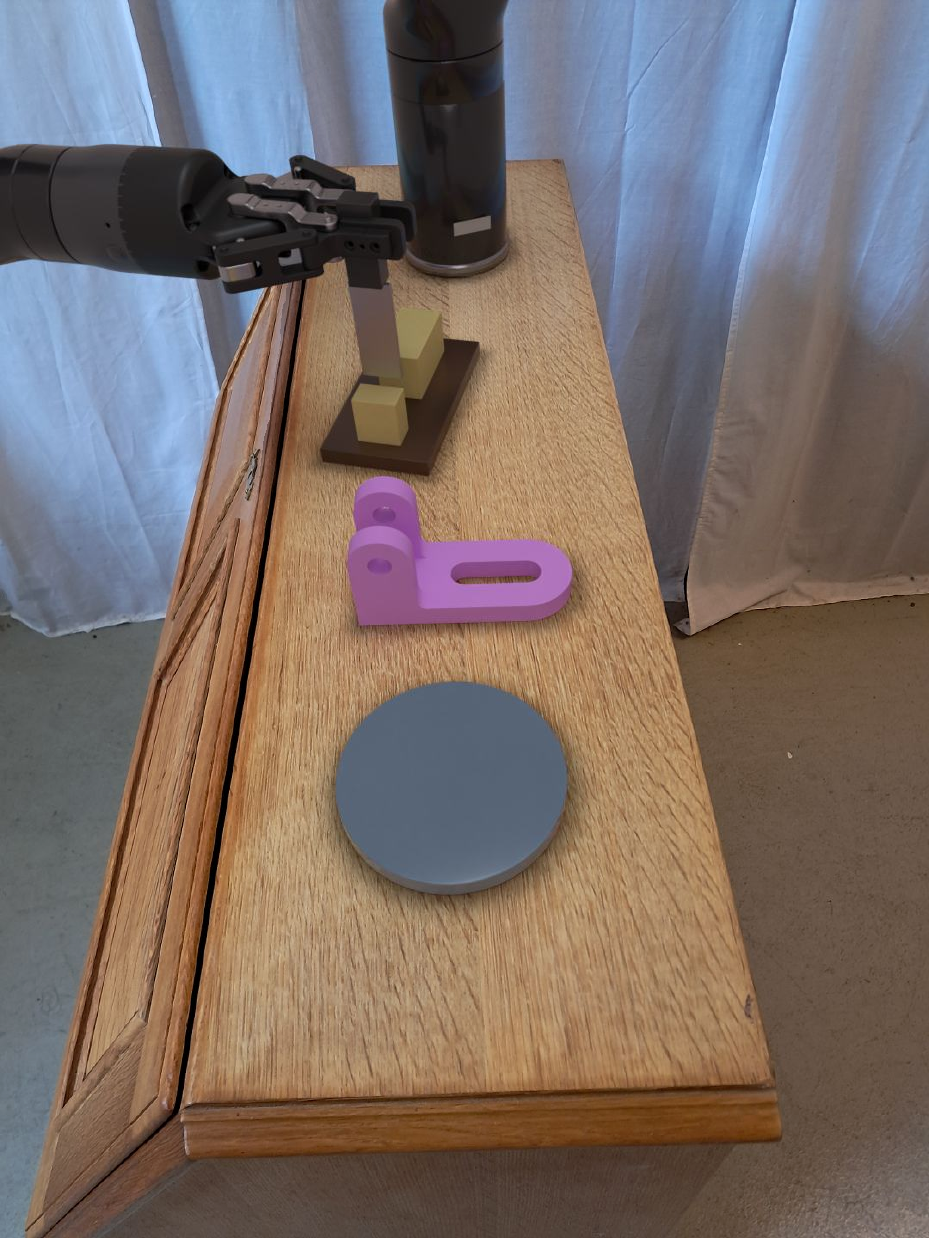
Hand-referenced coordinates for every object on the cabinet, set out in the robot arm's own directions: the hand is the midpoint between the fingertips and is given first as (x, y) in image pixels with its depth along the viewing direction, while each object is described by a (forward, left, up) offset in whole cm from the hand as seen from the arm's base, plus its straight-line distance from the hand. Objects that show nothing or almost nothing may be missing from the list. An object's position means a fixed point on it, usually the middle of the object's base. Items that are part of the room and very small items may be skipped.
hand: (408, 231), depth 55 cm
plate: (+27, +9, -16) cm, 33 cm away
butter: (-7, -3, -15) cm, 16 cm away
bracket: (+13, +6, -16) cm, 22 cm away
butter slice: (+1, -3, -15) cm, 15 cm away
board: (-4, -3, -16) cm, 17 cm away
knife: (0, -3, -11) cm, 11 cm away
